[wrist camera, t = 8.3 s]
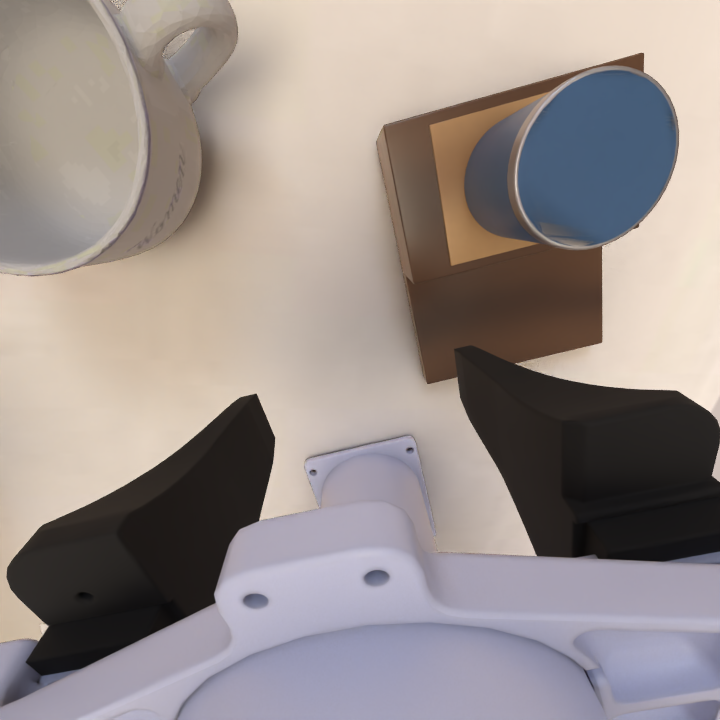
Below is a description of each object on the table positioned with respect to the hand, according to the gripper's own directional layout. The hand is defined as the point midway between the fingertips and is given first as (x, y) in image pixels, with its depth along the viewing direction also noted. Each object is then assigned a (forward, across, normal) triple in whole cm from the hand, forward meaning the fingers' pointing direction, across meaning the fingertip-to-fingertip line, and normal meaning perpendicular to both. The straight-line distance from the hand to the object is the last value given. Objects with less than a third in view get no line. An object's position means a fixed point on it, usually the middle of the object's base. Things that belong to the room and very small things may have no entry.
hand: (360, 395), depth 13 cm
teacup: (+12, +8, -11) cm, 18 cm away
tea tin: (+7, -9, -5) cm, 12 cm away
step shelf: (+11, -9, -1) cm, 14 cm away
